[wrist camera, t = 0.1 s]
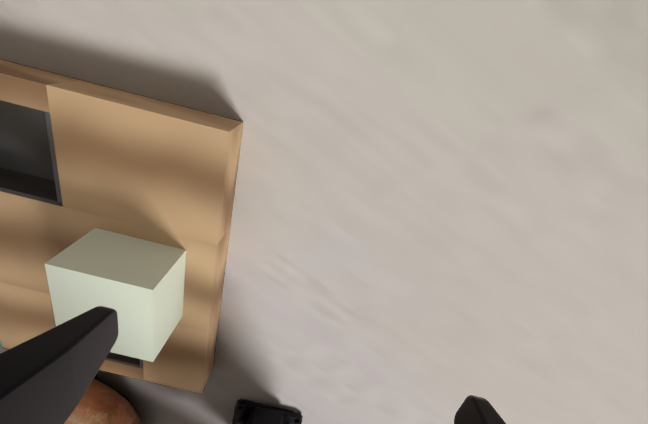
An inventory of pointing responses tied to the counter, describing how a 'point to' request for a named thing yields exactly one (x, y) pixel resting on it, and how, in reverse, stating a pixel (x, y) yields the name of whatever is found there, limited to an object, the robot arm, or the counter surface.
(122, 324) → the block
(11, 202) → the toy board
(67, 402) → the robot arm
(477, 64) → the counter surface
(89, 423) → the ceramic jug
